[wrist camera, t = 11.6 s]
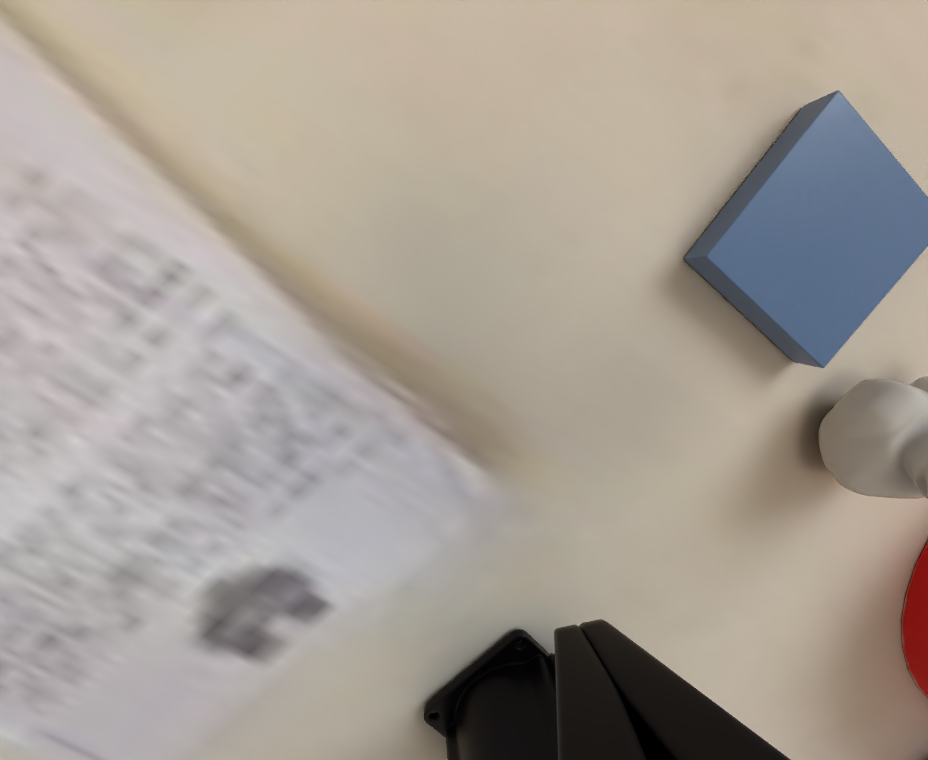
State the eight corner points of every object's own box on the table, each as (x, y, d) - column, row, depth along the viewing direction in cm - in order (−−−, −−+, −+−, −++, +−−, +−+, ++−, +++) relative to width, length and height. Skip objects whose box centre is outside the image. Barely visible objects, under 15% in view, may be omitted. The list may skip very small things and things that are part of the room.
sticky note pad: (794, 362, 20) (823, 369, 19) (682, 258, 18) (705, 256, 17) (909, 226, 19) (949, 221, 18) (804, 105, 18) (839, 89, 16)
